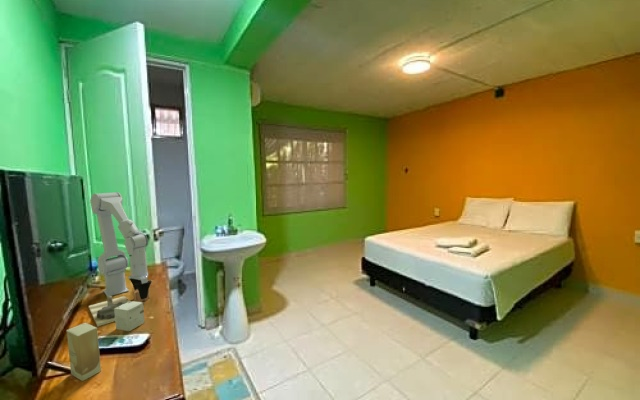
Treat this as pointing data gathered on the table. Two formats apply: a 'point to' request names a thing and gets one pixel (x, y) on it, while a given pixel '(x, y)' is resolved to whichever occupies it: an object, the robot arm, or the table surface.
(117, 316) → the skincare box
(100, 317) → the gear board
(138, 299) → the loose gear
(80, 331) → the skincare box
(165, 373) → the table surface
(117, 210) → the robot arm
